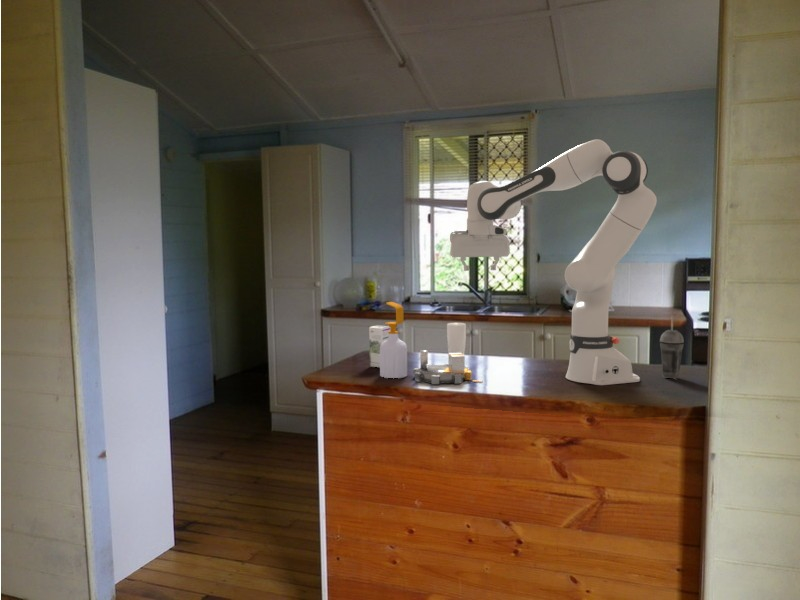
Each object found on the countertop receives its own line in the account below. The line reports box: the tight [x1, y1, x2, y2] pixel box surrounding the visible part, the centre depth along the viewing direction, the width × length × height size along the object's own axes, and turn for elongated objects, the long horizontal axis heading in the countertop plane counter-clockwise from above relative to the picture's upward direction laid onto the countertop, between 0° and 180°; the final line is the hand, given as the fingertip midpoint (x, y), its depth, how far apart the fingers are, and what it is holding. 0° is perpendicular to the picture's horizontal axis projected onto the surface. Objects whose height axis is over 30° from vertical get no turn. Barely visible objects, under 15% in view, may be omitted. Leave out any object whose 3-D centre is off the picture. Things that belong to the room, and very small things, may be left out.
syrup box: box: [368, 325, 391, 369], centre depth 219 cm, size 6×6×14 cm
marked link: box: [447, 353, 466, 372], centre depth 198 cm, size 4×6×5 cm, turn 7°
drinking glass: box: [446, 322, 467, 356], centre depth 219 cm, size 7×7×15 cm
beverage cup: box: [659, 314, 685, 379], centre depth 196 cm, size 7×7×20 cm
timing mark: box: [471, 379, 483, 383], centre depth 194 cm, size 3×1×1 cm, turn 67°
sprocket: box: [412, 349, 473, 385], centre depth 199 cm, size 19×19×8 cm
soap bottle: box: [379, 301, 408, 380], centre depth 203 cm, size 9×9×25 cm
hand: (479, 270), depth 212 cm, fingers open, 8 cm apart
